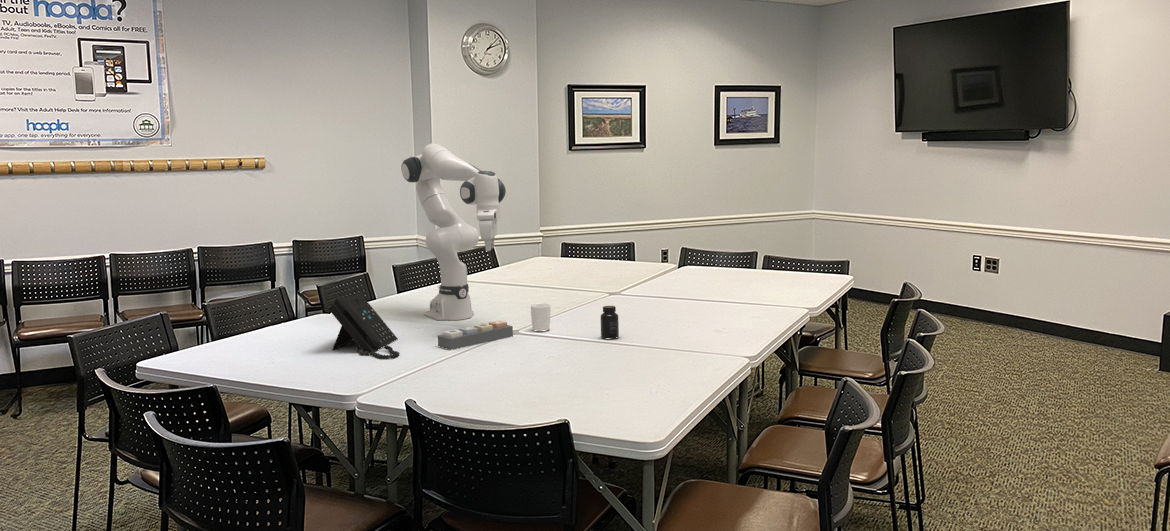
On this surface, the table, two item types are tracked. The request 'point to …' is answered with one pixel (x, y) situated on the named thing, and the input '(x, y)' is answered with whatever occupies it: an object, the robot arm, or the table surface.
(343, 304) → the office phone
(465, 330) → the key
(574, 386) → the table surface
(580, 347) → the table surface
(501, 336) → the dark grey holder tray
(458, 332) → the key
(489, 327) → the key
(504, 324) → the key
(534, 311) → the white cup
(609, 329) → the supplement bottle
